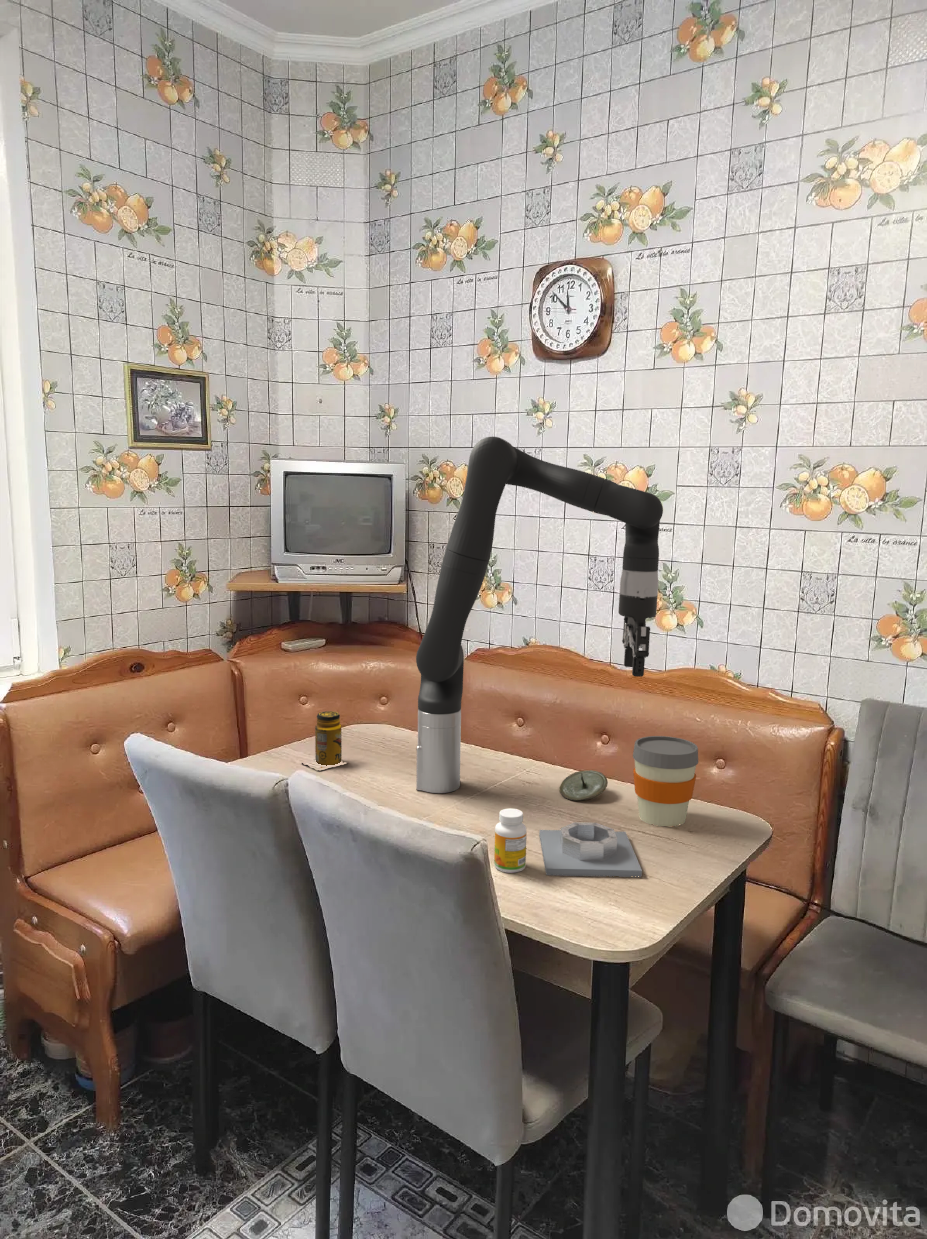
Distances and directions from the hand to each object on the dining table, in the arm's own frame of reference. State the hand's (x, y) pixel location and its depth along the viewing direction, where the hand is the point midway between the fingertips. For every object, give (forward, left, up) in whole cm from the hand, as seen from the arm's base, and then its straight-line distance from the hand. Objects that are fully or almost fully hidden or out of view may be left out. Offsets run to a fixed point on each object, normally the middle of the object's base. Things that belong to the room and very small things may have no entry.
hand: (633, 671), depth 171 cm
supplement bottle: (-26, -32, -28) cm, 50 cm away
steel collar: (-12, -27, -26) cm, 40 cm away
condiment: (-67, +19, -28) cm, 75 cm away
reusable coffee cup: (+5, -9, -28) cm, 30 cm away
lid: (-9, +3, -28) cm, 29 cm away
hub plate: (-12, -27, -28) cm, 41 cm away
